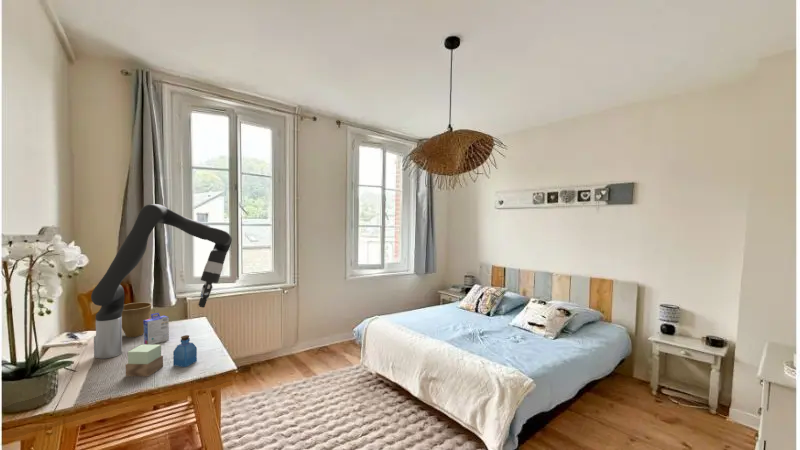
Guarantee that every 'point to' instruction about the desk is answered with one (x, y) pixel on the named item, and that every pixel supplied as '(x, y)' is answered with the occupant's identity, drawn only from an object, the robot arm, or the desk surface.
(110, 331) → the robot arm
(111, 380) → the desk surface
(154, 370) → the tower base block
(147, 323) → the ink cartridge box
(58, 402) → the desk surface
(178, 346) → the perfume bottle
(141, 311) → the plant pot
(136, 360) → the tower top block
